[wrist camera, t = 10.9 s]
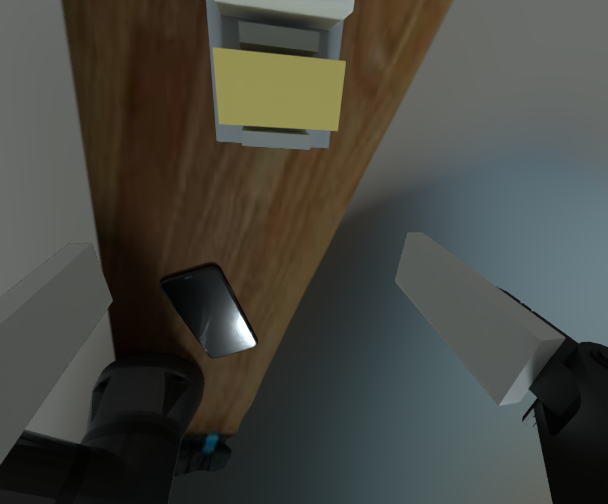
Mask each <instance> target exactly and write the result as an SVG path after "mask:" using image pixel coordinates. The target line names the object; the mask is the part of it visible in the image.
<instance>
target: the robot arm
mask: <svg viewBox="0 0 608 504" xmlns="http://www.w3.org/2000/svg"><path fill="white" fill-rule="evenodd" d="M395 282H396V283H397V284H398V286H399V287H400V288H401V289H402V290H403V292H404V293H405V294H406V295H407V296H408V298H409V299H410V300H411V301H412V302H413V304H414V305H415V306H416V307H417V308H418V310H419V311H420V312H421V313H422V314H423V316H424V317H425V318H426V319H427V320H428V322H429V323H430V324H431V325H432V326H433V328H434V329H435V330H436V331H437V332H438V334H439V335H440V336H441V337H442V339H443V340H444V341H445V342H446V343H447V345H448V346H449V347H450V348H451V349H452V351H453V352H454V353H455V354H456V355H457V357H458V358H459V359H460V360H461V361H462V362H463V364H464V365H465V366H466V367H467V369H468V370H469V371H470V372H471V373H472V375H473V376H474V377H475V378H476V379H477V381H478V382H479V383H480V384H481V385H482V387H483V388H484V389H485V390H486V391H487V393H488V394H489V395H490V396H491V397H492V399H493V400H494V401H495V402H496V403H497V405H498V406H501V405H507V404H513V403H518V402H520V401H521V400H522V398H523V397H524V395H525V394H526V393H527V391H528V390H530V391H532V393H533V394H534V395H535V396H536V397H537V399H536V400H535V402H534V403H533V404H532V405H531V407H530V408H529V409H528V411H527V412H526V413H525V415H524V416H523V419H522V423H524V424H527V423H528V422H529V421H530V419H531V418H532V417H535V418H536V423H535V424H534V425H533V428H535V429H537V430H538V433H539V438H540V443H541V448H542V453H543V458H544V462H545V468H546V473H547V477H548V483H549V487H550V492H551V497H552V502H553V504H608V347H606V346H603V345H601V344H597V343H592V342H581V343H580V344H579V343H577V342H576V341H574V340H573V339H572V338H570V337H569V336H567V335H566V334H565V333H563V332H562V331H561V330H559V329H558V328H556V327H555V326H554V325H552V324H551V323H550V322H548V321H547V320H545V319H544V318H543V317H541V316H540V315H538V314H537V313H535V312H534V311H533V312H532V311H531V309H530V308H529V307H527V306H526V305H524V304H523V303H520V301H519V300H518V299H516V298H515V297H514V296H512V295H511V294H509V293H508V292H506V291H504V290H502V289H500V288H498V287H496V286H494V285H493V284H492V283H490V282H489V281H488V280H486V279H485V278H484V277H482V276H481V275H480V274H478V273H477V272H476V271H474V270H473V269H471V268H470V267H469V266H467V265H466V264H465V263H463V262H462V261H460V260H459V259H458V258H456V257H455V256H453V255H452V254H451V253H450V252H448V251H447V250H446V249H444V248H443V247H441V246H440V245H439V244H437V243H436V242H435V241H433V240H432V239H431V238H429V237H428V236H426V235H425V234H424V233H422V232H416V233H407V236H406V240H405V244H404V248H403V252H402V256H401V260H400V264H399V268H398V271H397V276H396V279H395ZM112 301H113V300H112V297H111V294H110V291H109V289H108V286H107V283H106V281H105V278H104V275H103V272H102V270H101V267H100V264H99V261H98V259H97V256H96V253H95V251H94V248H93V245H92V243H82V244H81V243H78V244H68V245H66V246H65V247H64V248H63V249H61V250H60V251H59V252H57V253H56V254H55V255H54V256H52V257H51V258H50V259H48V260H47V261H46V262H45V263H43V264H42V265H41V266H40V267H38V268H37V269H36V270H34V271H33V272H32V273H30V274H29V275H28V276H27V277H25V278H24V279H23V280H21V281H20V282H19V283H18V284H16V285H15V286H14V287H12V288H11V289H10V290H9V291H7V292H6V293H5V294H4V295H2V296H1V297H0V504H168V501H169V496H170V492H171V487H172V482H173V477H174V473H175V468H176V463H177V458H178V453H179V449H180V444H181V440H182V438H183V436H184V434H185V432H186V430H187V428H188V426H189V424H190V423H191V421H192V419H193V417H194V415H195V413H196V411H197V409H198V407H199V406H200V403H201V400H202V396H203V391H204V379H203V376H202V374H201V373H200V372H199V370H198V369H197V368H196V367H194V366H193V365H192V364H190V363H189V362H187V361H185V360H183V359H180V358H177V357H174V356H170V355H165V354H157V353H143V354H135V355H130V356H126V357H123V358H120V359H118V360H116V361H114V362H112V363H111V364H109V365H108V366H107V367H106V368H105V369H104V370H103V371H102V373H101V375H100V377H99V378H98V380H97V382H96V384H95V386H94V388H93V391H92V396H91V402H90V409H89V415H88V421H87V428H86V433H85V435H84V437H83V439H82V441H81V443H80V444H77V443H74V442H71V441H67V440H63V439H59V438H55V437H51V436H48V435H44V434H40V433H36V432H32V431H28V430H24V429H25V428H26V427H27V425H28V424H29V422H30V421H31V419H32V418H33V416H34V415H35V413H36V412H37V410H38V409H39V408H40V406H41V405H42V403H43V402H44V400H45V399H46V397H47V396H48V395H49V393H50V392H51V390H52V389H53V387H54V386H55V384H56V383H57V381H58V379H59V378H60V377H61V376H62V374H63V373H64V371H65V370H66V368H67V367H68V365H69V364H70V362H71V361H72V360H73V358H74V357H75V355H76V354H77V352H78V351H79V349H80V348H81V346H82V345H83V343H84V342H85V341H86V339H87V338H88V336H89V335H90V333H91V332H92V330H93V329H94V327H95V326H96V324H97V323H98V322H99V320H100V319H101V317H102V316H103V314H104V313H105V311H106V310H107V309H108V307H109V306H110V304H111V303H112Z"/></svg>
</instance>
